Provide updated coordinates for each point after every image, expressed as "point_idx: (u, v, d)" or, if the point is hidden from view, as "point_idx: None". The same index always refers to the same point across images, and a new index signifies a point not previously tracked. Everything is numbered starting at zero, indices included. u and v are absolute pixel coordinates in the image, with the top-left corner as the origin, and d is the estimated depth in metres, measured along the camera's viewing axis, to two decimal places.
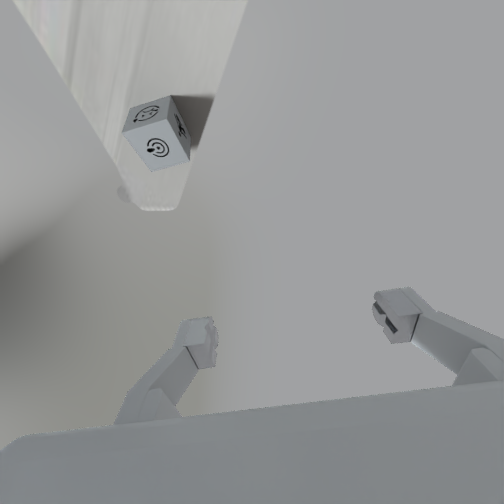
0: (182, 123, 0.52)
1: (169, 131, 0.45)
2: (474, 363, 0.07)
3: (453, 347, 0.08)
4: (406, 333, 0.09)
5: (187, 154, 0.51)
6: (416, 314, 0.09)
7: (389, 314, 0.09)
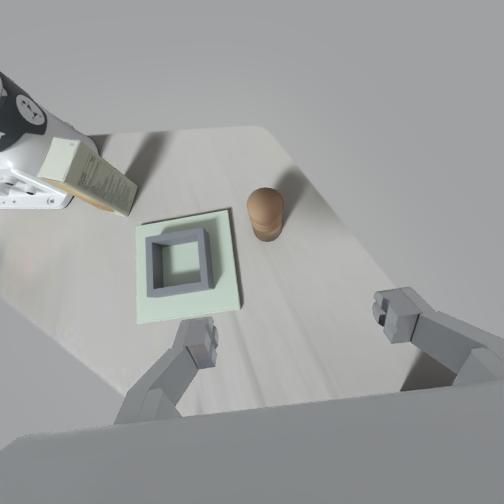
0: None
1: None
2: (474, 363, 0.07)
3: (453, 347, 0.08)
4: (406, 333, 0.09)
5: None
6: (416, 314, 0.09)
7: (389, 314, 0.09)
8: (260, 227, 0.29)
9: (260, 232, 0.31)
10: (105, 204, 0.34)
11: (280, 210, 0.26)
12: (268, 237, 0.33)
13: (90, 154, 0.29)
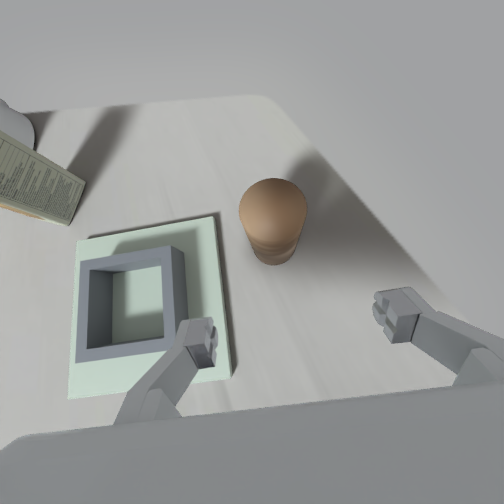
0: None
1: None
2: (474, 363, 0.07)
3: (453, 347, 0.08)
4: (406, 333, 0.09)
5: None
6: (416, 314, 0.09)
7: (389, 314, 0.09)
8: (263, 248, 0.16)
9: (263, 254, 0.19)
10: (20, 208, 0.21)
11: (301, 220, 0.14)
12: (276, 261, 0.20)
13: None
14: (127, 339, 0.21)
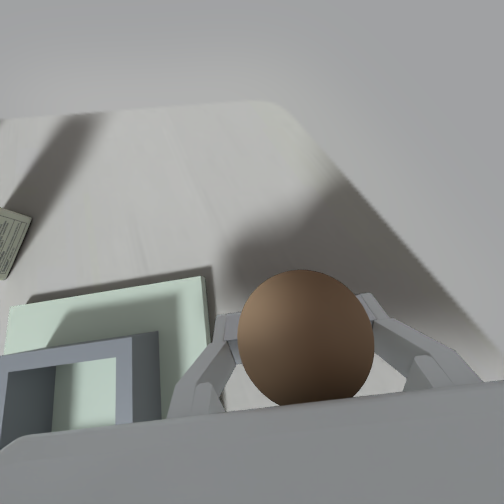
0: None
1: None
2: (416, 370, 0.07)
3: (403, 353, 0.08)
4: None
5: None
6: (371, 320, 0.09)
7: None
8: None
9: None
10: None
11: (365, 367, 0.07)
12: None
13: None
14: None
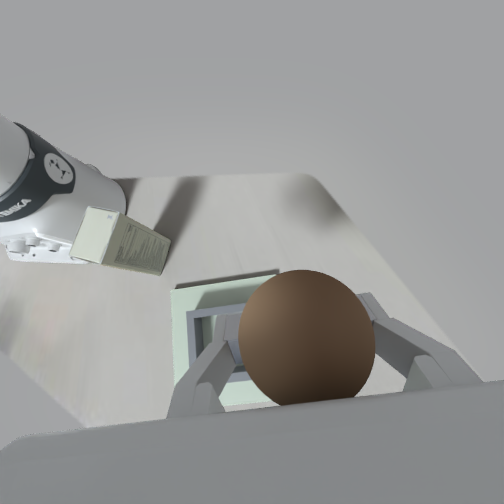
0: None
1: None
2: (416, 370, 0.07)
3: (403, 353, 0.08)
4: None
5: None
6: (371, 320, 0.09)
7: None
8: None
9: None
10: (140, 271, 0.29)
11: (366, 367, 0.07)
12: None
13: (128, 223, 0.25)
14: None
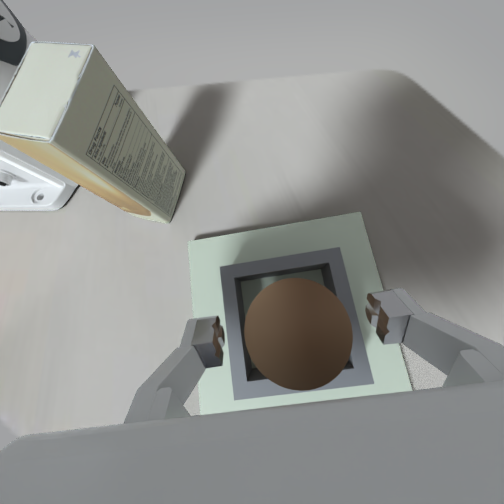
0: None
1: None
2: (463, 364, 0.07)
3: (443, 348, 0.08)
4: (398, 334, 0.09)
5: None
6: (407, 315, 0.09)
7: (381, 315, 0.09)
8: None
9: None
10: (138, 201, 0.17)
11: (345, 355, 0.09)
12: None
13: (113, 86, 0.13)
14: None
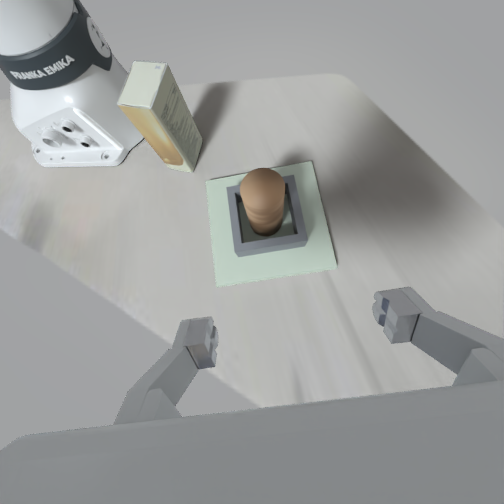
0: None
1: None
2: (474, 363, 0.07)
3: (453, 347, 0.08)
4: (406, 333, 0.09)
5: None
6: (416, 314, 0.09)
7: (389, 314, 0.09)
8: (256, 217, 0.23)
9: (257, 224, 0.26)
10: (178, 150, 0.29)
11: (281, 195, 0.21)
12: (267, 231, 0.27)
13: (172, 83, 0.25)
14: None
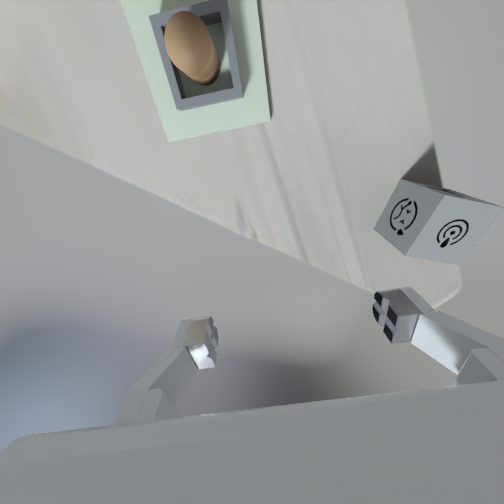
0: (434, 186, 0.38)
1: (456, 203, 0.30)
2: (474, 363, 0.07)
3: (453, 347, 0.08)
4: (406, 333, 0.09)
5: (492, 204, 0.32)
6: (416, 314, 0.09)
7: (389, 314, 0.09)
8: (189, 75, 0.24)
9: (192, 78, 0.26)
10: None
11: (208, 55, 0.22)
12: (204, 82, 0.28)
13: None
14: None
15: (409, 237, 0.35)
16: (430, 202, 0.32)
